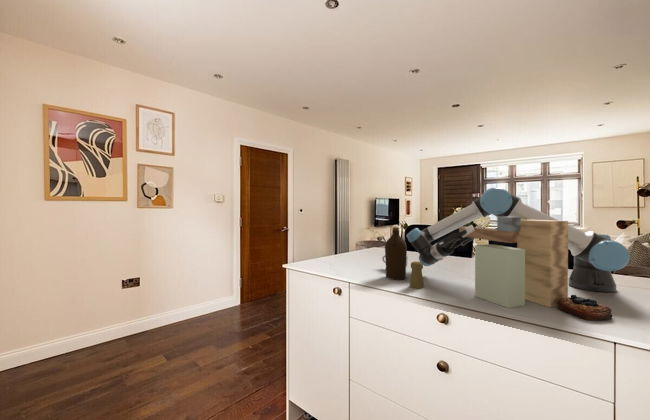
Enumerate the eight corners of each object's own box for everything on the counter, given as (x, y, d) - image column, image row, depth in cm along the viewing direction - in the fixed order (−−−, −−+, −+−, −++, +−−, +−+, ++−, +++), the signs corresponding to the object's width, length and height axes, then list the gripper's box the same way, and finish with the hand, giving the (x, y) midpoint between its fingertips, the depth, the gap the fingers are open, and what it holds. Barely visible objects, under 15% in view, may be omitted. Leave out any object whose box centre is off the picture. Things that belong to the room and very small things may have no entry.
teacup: (410, 268, 160) (410, 254, 160) (404, 272, 151) (404, 257, 151) (386, 266, 168) (386, 252, 168) (379, 269, 159) (379, 255, 158)
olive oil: (410, 279, 136) (410, 228, 135) (389, 280, 134) (389, 228, 134) (401, 274, 146) (401, 226, 146) (381, 275, 144) (381, 226, 144)
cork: (424, 289, 120) (425, 263, 120) (410, 288, 122) (410, 262, 122) (423, 285, 126) (423, 260, 126) (408, 284, 128) (409, 260, 127)
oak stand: (533, 294, 112) (534, 219, 112) (567, 304, 101) (568, 220, 101) (517, 296, 110) (517, 219, 109) (549, 307, 98) (550, 221, 98)
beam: (467, 235, 123) (467, 215, 123) (520, 242, 100) (520, 217, 100) (458, 236, 121) (458, 215, 121) (509, 243, 98) (510, 217, 98)
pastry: (580, 307, 99) (580, 291, 99) (619, 321, 87) (620, 302, 87) (552, 309, 97) (552, 292, 97) (588, 323, 85) (588, 303, 85)
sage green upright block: (490, 293, 113) (491, 244, 113) (524, 305, 100) (525, 249, 100) (475, 295, 111) (475, 245, 111) (507, 307, 98) (508, 250, 98)
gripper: (459, 255, 135) (497, 235, 116) (429, 257, 130) (464, 236, 110) (454, 241, 138) (489, 219, 119) (424, 242, 133) (457, 219, 114)
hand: (477, 227), depth 115 cm, fingers closed on beam, 4 cm apart
